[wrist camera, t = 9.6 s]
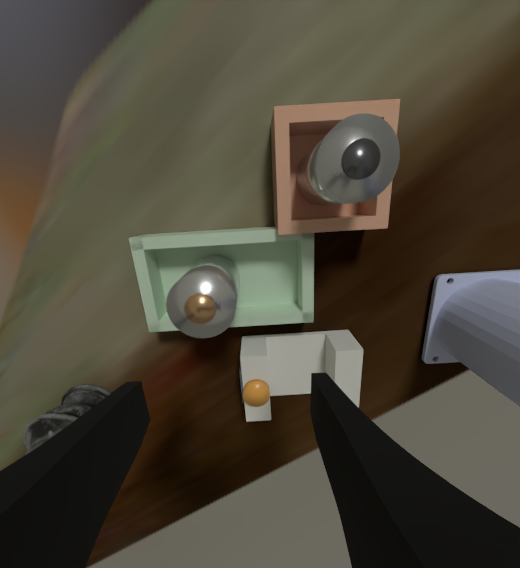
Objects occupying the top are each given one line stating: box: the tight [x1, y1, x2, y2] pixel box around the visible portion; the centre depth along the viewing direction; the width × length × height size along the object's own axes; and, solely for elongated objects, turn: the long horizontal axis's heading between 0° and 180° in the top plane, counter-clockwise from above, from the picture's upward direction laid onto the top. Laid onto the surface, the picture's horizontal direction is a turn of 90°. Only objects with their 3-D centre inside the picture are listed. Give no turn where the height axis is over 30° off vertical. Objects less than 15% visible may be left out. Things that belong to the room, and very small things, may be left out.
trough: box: [129, 227, 314, 332], centre depth 18 cm, size 12×7×2 cm, turn 93°
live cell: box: [166, 254, 240, 338], centre depth 15 cm, size 4×4×6 cm
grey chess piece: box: [23, 384, 111, 456], centre depth 17 cm, size 6×6×12 cm
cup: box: [271, 99, 400, 235], centre depth 15 cm, size 7×7×3 cm
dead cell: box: [297, 113, 400, 205], centre depth 13 cm, size 4×4×6 cm
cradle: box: [239, 330, 363, 422], centre depth 20 cm, size 9×6×4 cm, turn 93°
